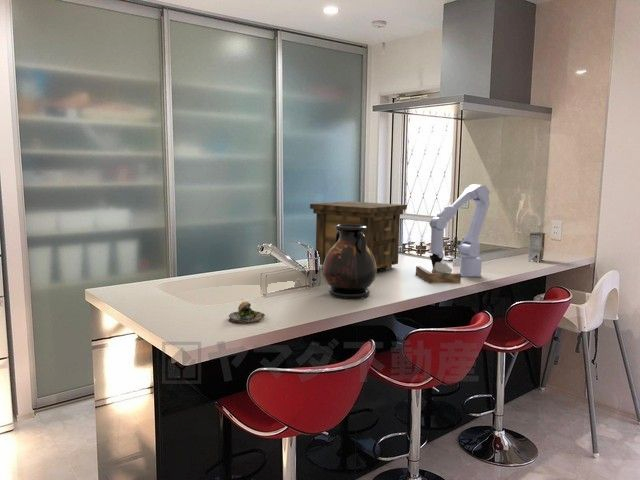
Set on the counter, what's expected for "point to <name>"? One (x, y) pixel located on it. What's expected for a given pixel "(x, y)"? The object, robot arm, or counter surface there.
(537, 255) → the coffee box
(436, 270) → the grey rock
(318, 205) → the crate
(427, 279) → the arena
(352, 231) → the amphora vase
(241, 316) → the mossy rock
